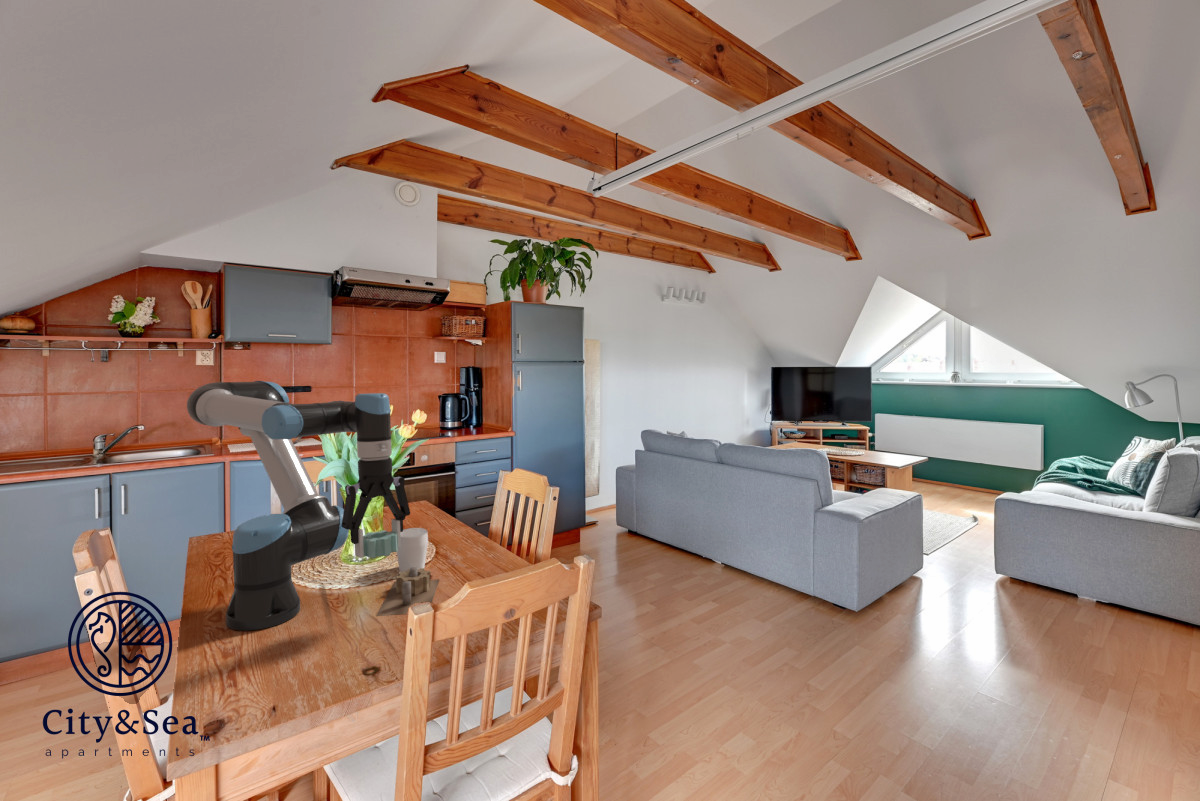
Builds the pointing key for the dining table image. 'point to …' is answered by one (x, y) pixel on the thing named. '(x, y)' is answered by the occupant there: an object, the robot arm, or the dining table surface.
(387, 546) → the gear
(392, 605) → the gear board
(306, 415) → the robot arm
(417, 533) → the cup
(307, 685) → the dining table surface
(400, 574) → the gear
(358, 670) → the dining table surface
